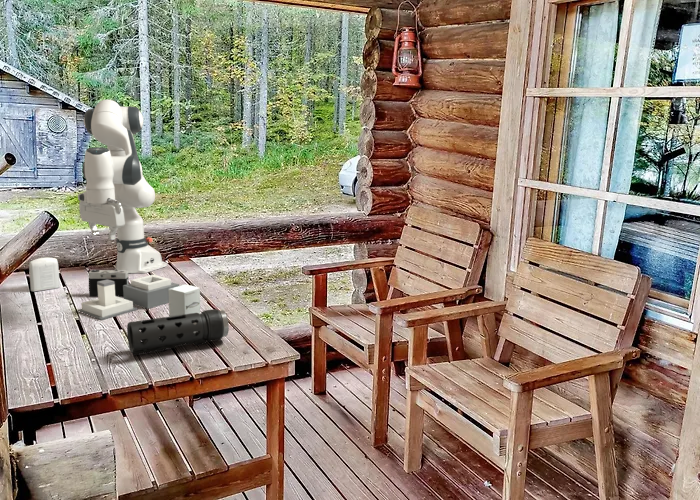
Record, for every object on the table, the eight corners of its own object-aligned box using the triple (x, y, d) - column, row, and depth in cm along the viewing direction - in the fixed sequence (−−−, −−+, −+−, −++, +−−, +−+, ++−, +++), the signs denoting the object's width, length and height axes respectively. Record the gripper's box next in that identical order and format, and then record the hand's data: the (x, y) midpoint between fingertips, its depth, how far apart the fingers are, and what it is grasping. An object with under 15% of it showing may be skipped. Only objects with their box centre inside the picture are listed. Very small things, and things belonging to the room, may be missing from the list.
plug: (109, 306, 209) (107, 279, 207) (116, 308, 207) (114, 281, 205) (98, 309, 206) (97, 281, 204) (105, 311, 204) (104, 283, 202)
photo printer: (57, 285, 233) (55, 255, 231) (61, 288, 230) (59, 257, 228) (29, 290, 226) (26, 258, 224) (32, 292, 223) (30, 261, 221)
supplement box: (184, 329, 191) (183, 292, 188) (168, 325, 195) (167, 288, 192) (201, 323, 198) (200, 287, 195) (185, 319, 201) (184, 283, 198)
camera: (133, 291, 229) (132, 266, 227) (125, 298, 221) (123, 272, 218) (98, 290, 229) (96, 265, 227) (88, 297, 221) (86, 271, 218)
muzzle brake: (128, 350, 174) (126, 317, 172) (219, 335, 188) (219, 304, 186) (134, 362, 166) (132, 327, 164) (230, 345, 180) (229, 313, 178)
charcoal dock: (155, 292, 229) (154, 272, 227) (179, 299, 221) (178, 279, 219) (123, 301, 217) (122, 280, 216) (148, 308, 210) (147, 287, 208)
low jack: (113, 301, 216) (112, 293, 215) (137, 309, 208) (136, 301, 208) (77, 311, 205) (76, 303, 204) (101, 320, 197) (101, 311, 196)
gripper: (128, 199, 194) (130, 240, 198) (91, 193, 206) (94, 231, 209) (111, 201, 189) (113, 243, 193) (74, 194, 200) (77, 234, 204)
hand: (103, 237), depth 201 cm, fingers open, 8 cm apart
